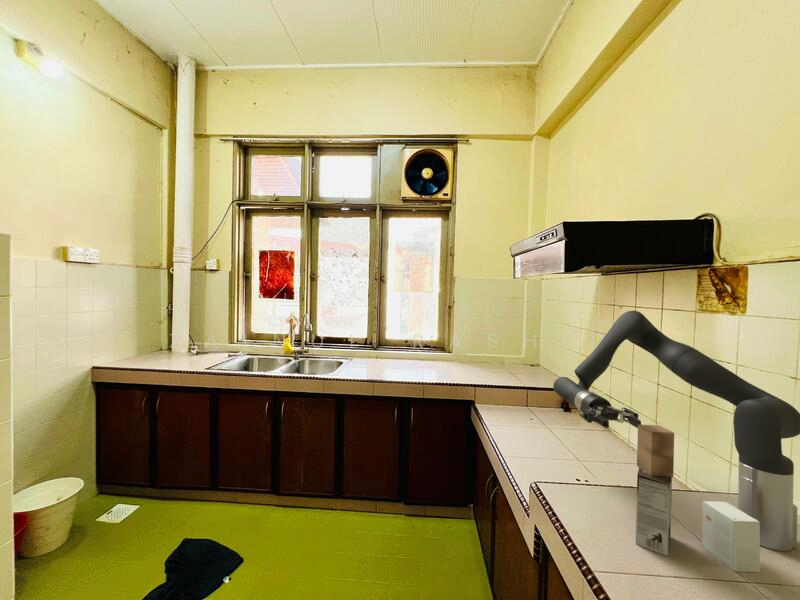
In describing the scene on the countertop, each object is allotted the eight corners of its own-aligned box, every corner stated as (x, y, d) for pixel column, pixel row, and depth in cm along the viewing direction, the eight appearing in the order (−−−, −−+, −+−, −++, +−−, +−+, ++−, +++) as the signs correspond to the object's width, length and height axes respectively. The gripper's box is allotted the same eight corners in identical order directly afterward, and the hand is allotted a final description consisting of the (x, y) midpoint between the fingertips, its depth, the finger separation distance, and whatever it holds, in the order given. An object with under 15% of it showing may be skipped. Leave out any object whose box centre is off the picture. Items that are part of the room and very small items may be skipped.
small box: (760, 573, 74) (761, 522, 74) (733, 572, 74) (734, 521, 74) (725, 547, 82) (726, 501, 82) (701, 546, 82) (702, 500, 82)
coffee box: (638, 525, 89) (640, 460, 89) (671, 537, 85) (672, 469, 85) (634, 544, 82) (636, 473, 82) (669, 557, 78) (671, 483, 78)
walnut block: (657, 466, 86) (659, 425, 86) (673, 476, 81) (674, 432, 81) (636, 465, 86) (637, 424, 86) (650, 475, 81) (651, 431, 81)
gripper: (569, 393, 112) (597, 410, 96) (615, 393, 112) (650, 411, 96) (569, 416, 113) (596, 438, 96) (614, 417, 112) (649, 438, 96)
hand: (623, 424), depth 96 cm, fingers open, 8 cm apart
